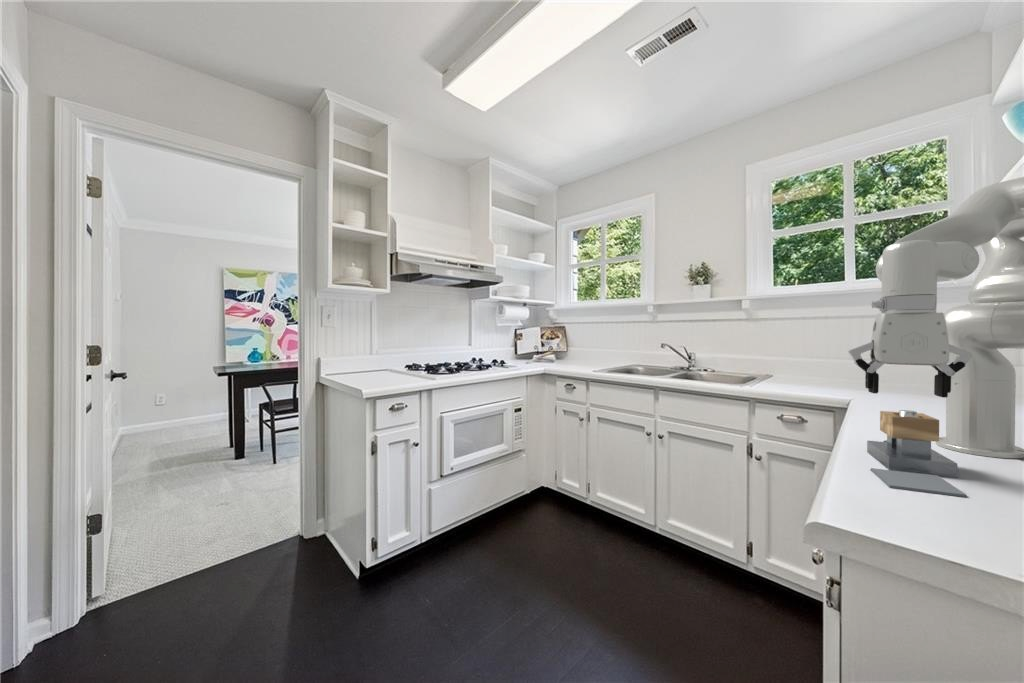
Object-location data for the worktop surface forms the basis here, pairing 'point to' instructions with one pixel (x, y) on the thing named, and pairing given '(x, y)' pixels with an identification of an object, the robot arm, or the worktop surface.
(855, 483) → the worktop surface
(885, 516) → the worktop surface
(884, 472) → the mat
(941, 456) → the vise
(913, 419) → the collar
